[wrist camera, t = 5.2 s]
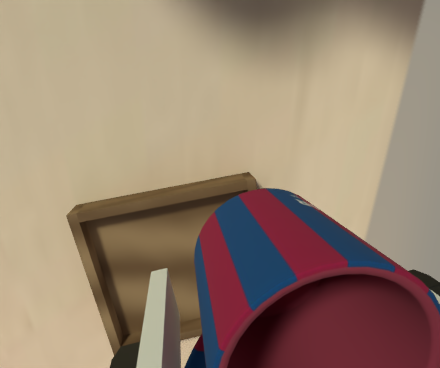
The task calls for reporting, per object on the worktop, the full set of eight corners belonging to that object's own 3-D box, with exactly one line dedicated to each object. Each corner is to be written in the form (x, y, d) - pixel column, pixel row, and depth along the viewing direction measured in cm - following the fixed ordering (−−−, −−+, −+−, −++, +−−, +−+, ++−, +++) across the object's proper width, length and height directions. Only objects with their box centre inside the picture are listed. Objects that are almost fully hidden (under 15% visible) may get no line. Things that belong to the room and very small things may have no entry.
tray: (76, 205, 26) (66, 215, 24) (248, 172, 27) (255, 178, 25) (119, 336, 30) (114, 356, 28) (265, 301, 32) (272, 318, 29)
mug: (351, 248, 15) (488, 356, 8) (213, 374, 16) (240, 566, 9) (267, 157, 13) (358, 205, 6) (116, 306, 14) (60, 484, 7)
